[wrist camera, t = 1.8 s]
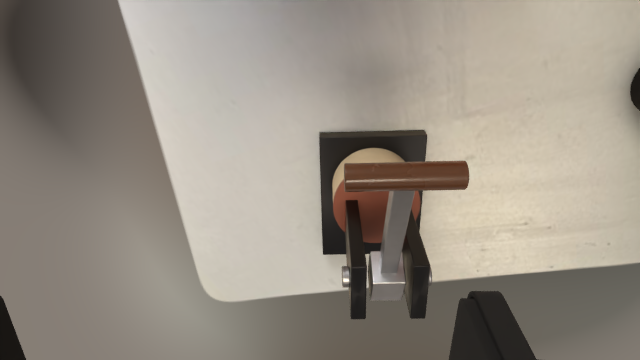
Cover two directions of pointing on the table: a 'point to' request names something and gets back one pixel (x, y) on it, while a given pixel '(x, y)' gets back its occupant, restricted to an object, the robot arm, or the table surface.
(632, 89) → the cup
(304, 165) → the table surface
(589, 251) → the table surface
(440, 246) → the table surface
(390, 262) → the lever
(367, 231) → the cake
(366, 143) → the bracket
